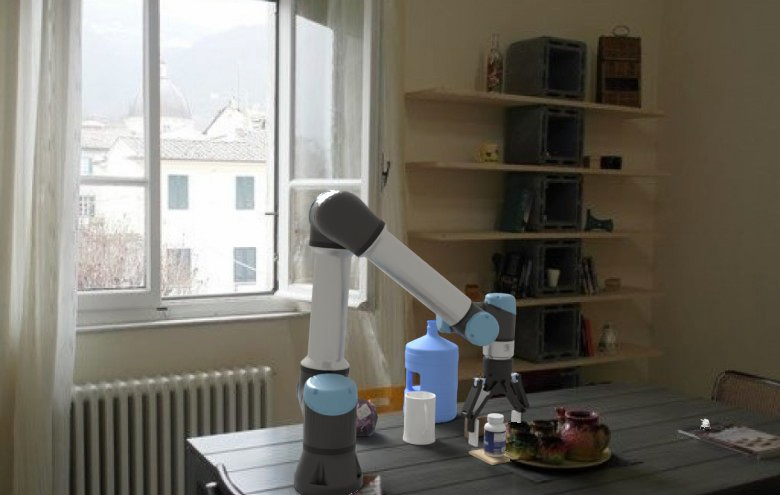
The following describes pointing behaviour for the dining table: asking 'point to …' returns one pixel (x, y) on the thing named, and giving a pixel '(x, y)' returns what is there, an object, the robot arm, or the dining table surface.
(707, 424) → the power adapter
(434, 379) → the water jug
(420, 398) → the mug
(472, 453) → the cork pad
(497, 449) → the pill bottle
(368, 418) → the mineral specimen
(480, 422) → the blocks
